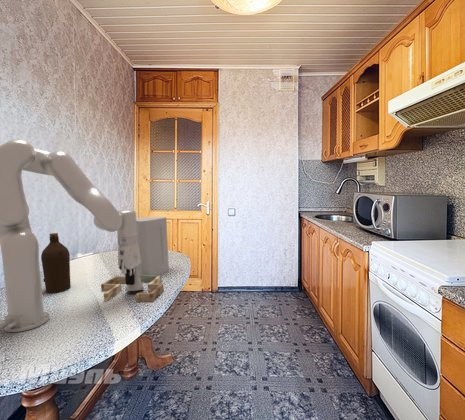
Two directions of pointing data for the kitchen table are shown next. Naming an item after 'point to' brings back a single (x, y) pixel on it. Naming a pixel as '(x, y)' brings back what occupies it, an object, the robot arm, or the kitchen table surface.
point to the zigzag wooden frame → (148, 297)
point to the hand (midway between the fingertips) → (130, 284)
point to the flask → (137, 284)
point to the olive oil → (56, 266)
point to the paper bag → (152, 245)
